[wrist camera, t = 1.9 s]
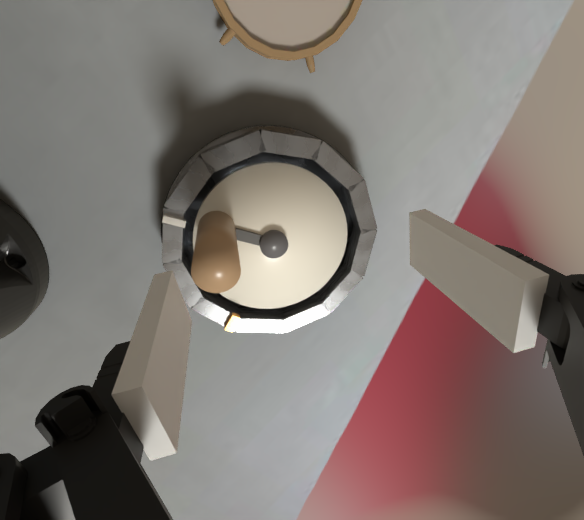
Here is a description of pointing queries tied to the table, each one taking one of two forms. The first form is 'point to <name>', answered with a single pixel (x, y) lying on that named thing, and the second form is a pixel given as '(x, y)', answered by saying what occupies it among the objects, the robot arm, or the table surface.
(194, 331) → the table surface
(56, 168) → the table surface
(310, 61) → the alarm clock
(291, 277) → the dial
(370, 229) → the housing
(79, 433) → the robot arm
